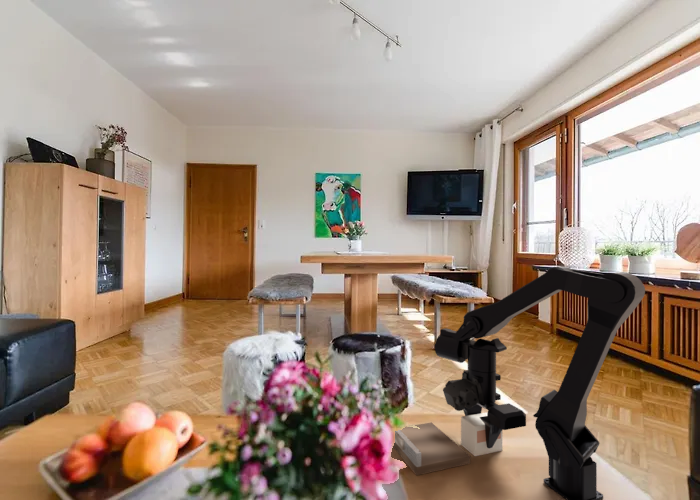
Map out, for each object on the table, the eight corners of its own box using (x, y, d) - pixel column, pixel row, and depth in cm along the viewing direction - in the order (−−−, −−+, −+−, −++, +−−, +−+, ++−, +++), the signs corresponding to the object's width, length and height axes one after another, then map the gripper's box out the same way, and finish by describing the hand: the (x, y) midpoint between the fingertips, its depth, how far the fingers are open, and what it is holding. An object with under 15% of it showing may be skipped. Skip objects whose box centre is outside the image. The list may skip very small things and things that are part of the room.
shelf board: (470, 463, 67) (470, 442, 67) (414, 475, 63) (415, 453, 63) (431, 428, 80) (431, 411, 80) (383, 437, 76) (383, 419, 76)
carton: (502, 450, 71) (502, 421, 71) (475, 456, 69) (475, 426, 69) (487, 439, 76) (487, 412, 76) (460, 444, 74) (461, 416, 74)
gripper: (425, 358, 79) (425, 426, 79) (480, 388, 61) (480, 475, 61) (465, 354, 83) (465, 419, 82) (528, 382, 65) (528, 464, 65)
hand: (481, 441), depth 72 cm, fingers closed on carton, 5 cm apart
